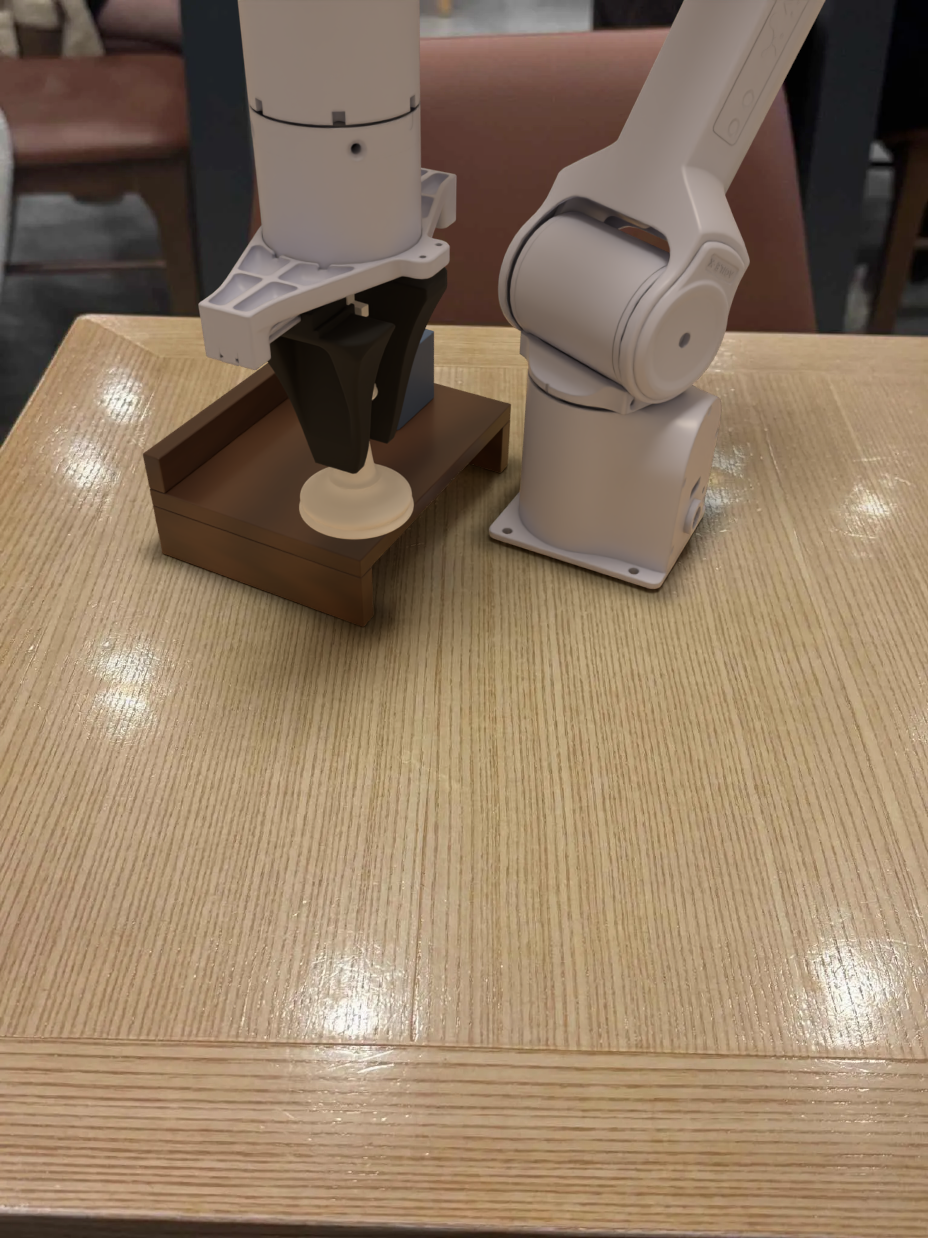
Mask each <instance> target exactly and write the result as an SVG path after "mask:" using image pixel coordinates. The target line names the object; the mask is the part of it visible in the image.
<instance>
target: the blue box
mask: <svg viewBox="0 0 928 1238" xmlns="http://www.w3.org/2000/svg"><path fill="white" fill-rule="evenodd" d="M434 383H435V331H434V330H432V329H428V328H425V331H424V333H423V336H422V338H421V341H420V343H419V346H418V349H417V352H416V355H415V359H414V362H413V365H412V369H411V373H410V377H409V381H408V385H407V389H406V394H405V398H404V403H403V407H402V411H401V416H400V420H399V423H398V427H397V430H399V429H401V428H402V427H403V426H404V425H405V424H406V423H407V422H408V421H409V420H410V419H411V418H412V417H413V416H415V415H416V414H417V413H418V412H419V411H420V410H421V409H422V408H423V407H424V406H425V405H426V404H427V403H429V402H430V401H431V400H432V399H433V398H434Z"/></svg>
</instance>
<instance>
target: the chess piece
mask: <svg viewBox="0 0 928 1238" xmlns="http://www.w3.org/2000/svg"><path fill="white" fill-rule="evenodd" d="M346 303H347V305H349V304H350V303H353V304H354V305H355V314H357V315H361V316H365V317H367V316H368V315H369V314H368V304H365V303H361V302H358V301H355V299H354V294H353V295H350V296H347V297H346ZM377 393H378V390H377V387H376V384H375V385H374V390H373V396H372V400H373V399H374V398H375V397H376V396H377ZM413 507H414V502H413V498H412V491H411V487H410V485H409V483H408V482H407V480H406V479H405V478H404V477H403V476H402V475H401V474H399V473H398V472H396V471H394V470H392V469H390V468H388V467H385V466H382V465H378V464H375V463H374V461H373V457H372V452H371V446H370V441H369V449H368V454H367V458H366V461H365V465H364V467H363V468H362V469H361V470H360V471H359V472H358V473H356V474H351V473H348V472H345V471H341V470H338V469H335V468H331V467H328V468H325V469H323V470H321V471H319V472H317V473H315V474H314V475H313V476H311V477H310V478H309V479H308V480H307V481H306V482H305V484H304V485H303V487H302V489H301V493H300V504H299V511H300V514H301V517H302V518H303V520H304V521H305V522H306V523H307V524H308V525H309V526H310V527H311V528H313V529H314V530H316V531H318V532H320V533H322V534H325V535H328V536H331V537H336V538H342V539H367V538H373V537H377V536H381V535H384V534H387V533H389V532H392V531H394V530H395V529H397V528H399V527H400V526H402V525H403V524H404V523H405V522H406V521H407V520H408V519H409V517H410V516H411V514H412V512H413Z"/></svg>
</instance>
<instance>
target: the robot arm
mask: <svg viewBox="0 0 928 1238" xmlns="http://www.w3.org/2000/svg"><path fill="white" fill-rule="evenodd" d="M420 1H421V0H237V7H238V16H239V17H238V18H239V26H240V35H241V45H242V54H243V63H244V75H245V83H246V84H245V85H246V92H247V101H248V111H249V120H250V122H249V123H250V130H251V131H250V132H251V138H252V147H253V156H254V166H255V174H256V185H257V194H258V203H259V204H258V205H259V212H260V213H259V214H260V222H261V223H260V224H261V225H260V226H259V228H258V229H257V230H256V232H255V234H254V235H253V237H252V238H251V239H250V241H249V243H248V245H247V246H246V247H245V249H244V250H243V252H242V253H241V255H240V256H239V258H238V260H237V261H236V263H235V264H234V266H233V267H232V268H231V270H230V272H229V274H228V275H227V277H226V278H225V279H224V280H223V282H222V284H221V285H219V287H218V288H217V289H216V290H215V291H214V292H212V293H211V294H209V295H208V296H207V297H206V298H204V299H203V300H201V301H200V302H199V303H197V304H198V312H199V318H200V323H201V324H200V325H201V330H202V337H203V344H204V352H205V356H206V358H209V359H212V360H216V361H219V362H222V363H224V364H228V365H232V366H237V367H241V368H243V369H248V370H252V371H257V370H259V369H260V368H262V367H263V366H264V365H266V364H267V363H269V365H270V366H271V368H272V369H273V371H274V372H275V374H276V376H277V377H278V379H279V380H280V382H281V384H282V386H283V387H284V389H285V391H286V393H287V395H288V397H289V399H290V401H291V404H292V406H293V408H294V410H295V412H296V415H297V417H298V420H299V422H300V425H301V427H302V430H303V432H304V435H305V438H306V440H307V443H308V445H309V448H310V451H311V453H312V456H313V458H314V461H315V463H318V464H322V465H325V466H328V467H331V468H335V469H338V470H341V471H345V472H348V473H351V474H356V473H358V472H359V471H360V470H361V469H362V468H363V467H364V465H365V461H366V458H367V454H368V449H369V440H370V439H372V440H376V441H379V442H382V443H386V444H388V443H389V442H390V441H391V440H392V439H393V438H394V436H395V433H396V430H397V427H398V423H399V420H400V416H401V411H402V407H403V403H404V398H405V394H406V389H407V385H408V381H409V377H410V373H411V369H412V365H413V362H414V359H415V355H416V352H417V349H418V346H419V343H420V341H421V338H422V336H423V333H424V331H425V329H427V326H428V324H429V322H430V320H431V318H432V315H433V314H434V312H435V309H436V308H437V306H438V304H439V302H440V301H441V300H442V298H443V295H444V294H445V292H446V291H447V289H448V269H447V268H446V266H448V265H449V263H450V260H451V259H450V258H451V257H450V255H451V254H450V249H451V245H449V243H448V242H447V241H445V240H442V239H437V238H433V236H434V233H435V230H436V229H442V230H443V229H447V228H449V226H451V225H452V224H454V223H455V222H456V221H457V179H458V177H457V175H456V173H450V172H444V171H442V170H441V171H440V170H435V169H430V168H425V167H422V134H421V133H422V132H421V131H422V129H421V128H422V123H421V121H422V120H421V119H422V118H421V112H422V111H421V19H420V17H421V15H420V14H421V11H420V9H421V8H420V7H421V6H420V3H421V2H420ZM825 3H826V0H683V1H682V4H681V5H680V8H679V10H678V12H677V14H676V16H675V18H674V20H673V22H672V23H671V27H670V28H669V31H668V33H667V35H666V37H665V39H664V41H663V43H662V46H661V47H660V50H659V51H658V54H657V56H656V58H655V60H654V62H653V65H652V66H651V69H650V71H649V73H648V75H647V77H646V79H645V81H644V83H643V86H642V88H641V89H640V92H639V94H638V96H637V98H636V101H635V102H634V105H633V106H632V108H631V111H630V113H629V115H628V117H627V119H626V121H625V123H624V126H623V127H622V130H621V132H620V134H619V136H618V138H617V139H616V140H615V141H613V143H611V144H610V145H608V146H606V147H604V148H602V149H600V150H598V151H596V152H593V153H592V154H589V155H587V156H585V157H583V158H580V159H578V160H576V161H575V162H572V163H571V164H568V165H567V166H565V167H563V168H562V169H561V170H560V171H559V172H558V173H557V175H556V177H555V180H554V181H553V184H552V186H551V189H550V190H549V192H548V194H547V197H546V198H545V200H543V202H542V204H541V206H540V207H539V208H538V209H537V210H536V211H535V213H534V214H533V215H531V217H530V218H529V219H528V220H527V221H525V223H524V224H523V225H521V227H520V229H519V230H518V231H517V232H516V233H515V235H514V237H513V238H512V240H511V242H510V243H509V245H508V247H507V249H506V252H505V254H504V257H503V260H502V262H501V265H500V269H499V275H498V283H497V295H498V303H499V307H500V311H501V312H502V315H503V316H504V318H505V319H506V321H507V322H508V324H510V325H511V326H512V327H513V328H514V329H515V330H517V331H519V332H520V339H519V355H520V356H521V357H523V358H524V359H525V360H526V363H527V374H526V390H525V391H526V392H525V404H524V420H523V421H524V422H523V439H522V450H521V451H522V452H521V453H522V454H521V465H520V466H521V467H520V482H519V483H520V485H519V491H518V492H517V493H516V495H515V496H513V499H511V500H510V502H508V504H507V505H506V506H505V507H504V509H503V510H502V511H501V513H499V515H498V516H497V517H496V518H495V520H494V521H493V522H492V523H491V524H490V526H489V527H488V536H489V537H490V538H492V539H494V540H497V541H499V542H503V543H506V544H510V545H511V546H512V545H513V546H516V547H518V548H522V549H525V550H528V551H531V552H534V553H537V554H540V555H544V556H546V557H550V558H553V559H555V560H559V561H561V562H565V563H568V564H571V565H575V566H578V567H580V568H584V569H587V570H590V571H594V572H596V573H599V574H601V575H605V576H608V577H612V578H615V579H619V580H621V581H624V582H628V583H631V584H633V585H637V586H640V587H643V588H646V589H650V590H657V589H659V588H661V586H662V585H663V584H664V582H665V581H666V579H667V577H668V576H669V573H670V572H671V570H672V568H673V567H674V565H675V564H676V562H677V561H678V558H679V557H680V555H681V553H682V552H683V551H684V549H685V547H686V545H687V543H688V542H689V540H690V539H691V537H692V535H693V533H694V532H695V531H696V528H697V527H698V525H699V524H700V522H701V520H702V518H703V517H704V515H705V513H706V508H707V507H706V504H705V502H706V498H707V497H706V496H707V492H708V491H707V490H708V486H709V481H710V477H711V471H712V465H713V461H714V456H715V450H716V446H717V440H718V435H719V431H720V427H721V426H720V425H721V419H722V409H723V408H722V407H723V405H722V398H720V397H719V396H718V395H715V394H713V393H710V392H708V391H706V390H704V389H702V388H700V387H699V386H698V387H697V386H696V385H695V383H696V382H697V381H699V380H700V379H701V377H703V375H704V374H705V373H706V371H707V370H708V368H709V367H710V366H711V364H712V363H713V362H714V359H715V358H716V356H717V354H718V353H719V351H720V348H721V345H722V343H723V341H724V338H725V334H726V330H727V326H728V320H729V319H728V318H729V314H730V311H731V307H732V303H733V301H734V297H735V296H736V292H737V290H738V286H739V285H740V283H741V280H742V279H743V277H744V275H745V273H746V271H747V270H748V267H749V266H750V263H751V262H750V256H749V253H748V250H747V247H746V243H745V241H744V239H743V237H742V234H741V231H740V229H739V227H738V223H737V222H736V220H735V218H734V214H733V213H732V209H731V207H730V203H729V202H728V199H727V197H726V194H727V192H728V190H729V188H730V187H731V184H732V182H733V180H734V178H735V177H736V174H737V173H738V171H739V169H740V167H741V166H742V163H743V161H744V160H745V157H746V155H747V154H748V152H749V149H750V147H751V146H752V143H753V141H754V139H755V138H756V136H757V134H758V132H759V130H760V129H761V126H762V124H763V123H764V121H765V118H766V117H767V114H768V112H769V111H770V109H771V107H772V105H773V103H774V101H775V99H776V97H777V95H778V93H779V91H780V89H781V88H782V86H783V83H784V81H785V79H786V78H787V75H788V74H789V72H790V70H791V68H792V66H793V64H794V63H795V60H796V59H797V56H798V54H799V53H800V50H801V49H802V47H803V45H804V44H805V41H806V39H807V37H808V35H809V33H810V31H811V30H812V27H813V25H814V24H815V22H816V19H817V18H818V15H819V14H820V12H821V10H822V8H823V6H824V4H825ZM624 228H632V229H639V230H640V231H643V232H646V233H648V234H650V235H653V236H654V237H657V238H659V239H661V240H663V241H665V242H667V245H668V248H669V251H666V250H665V249H662V248H661V247H658V246H656V245H654V244H652V243H649V242H647V241H645V240H643V239H640V238H639V237H636V236H634V235H631V234H629V233H627V232H625V231H623V230H622V229H624ZM353 294H354V299H355V301H358V302H361V303H365V304H368V314H369V315H368V316H367V317H365V316H361V315H357V314H355V305H354V304H353V303H350V304H349V305H347V303H346V297H347V296H350V295H353ZM375 384H376V387H377V390H378V393H377V396H376V397H375V398H374V399H373V400H372V396H373V390H374V385H375Z"/></svg>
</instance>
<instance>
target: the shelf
mask: <svg viewBox="0 0 928 1238" xmlns="http://www.w3.org/2000/svg"><path fill="white" fill-rule="evenodd" d="M511 411H512V404H511V403H509V402H505V401H502V400H499V399H495V398H491V397H487V396H483V395H480V394H476V393H472V392H469V391H465V390H462V389H458V388H455V387H451V386H447V385H442V384H439V383H435V382H434V398H433V399H432V400H431V401H430V402H429V403H427V404H426V405H425V406H424V407H423V408H422V409H421V410H420V411H419V412H418V413H417V414H416V415H415V416H413V417H412V418H411V419H410V420H409V421H408V422H407V423H406V424H405V425H404V426H403V427H402V428H401V429H399V430H396V433H395V436H394V438H393V439H392V440H391V441H390V442H389V443H388V444H386V443H382V442H379V441H376V440H372V439H370V440H369V441H370V446H371V452H372V457H373V461H374V463H375V464H378V465H382V466H385V467H388V468H390V469H392V470H394V471H396V472H398V473H399V474H401V475H402V476H403V477H404V478H405V479H406V480H407V482H408V483H409V485H410V487H411V491H412V498H413V502H414V507H413V512H412V514H411V516H410V517H409V519H408V520H407V521H406V522H405V523H404V524H403V525H402V526H400V527H399V528H397V529H395V530H394V531H392V532H389V533H387V534H384V535H381V536H377V537H373V538H367V539H342V538H336V537H331V536H328V535H325V534H322V533H320V532H318V531H316V530H314V529H313V528H311V527H310V526H309V525H308V524H307V523H306V522H305V521H304V520H303V518H302V517H301V514H300V511H299V504H300V493H301V489H302V487H303V485H304V484H305V482H306V481H307V480H308V479H309V478H310V477H311V476H313V475H314V474H315V473H317V472H319V471H321V470H323V469H325V468H328V466H325V465H322V464H318V463H315V461H314V458H313V456H312V453H311V451H310V448H309V445H308V443H307V440H306V438H305V435H304V432H303V430H302V427H301V425H300V422H299V420H298V417H297V415H296V412H295V410H294V408H293V406H292V404H291V401H290V399H289V397H288V395H287V393H286V391H285V389H284V387H283V386H282V384H281V382H280V380H279V379H278V377H277V376H276V374H275V372H274V371H273V369H272V368H271V366H270V365H269V363H268V362H266V363H265V364H263V365H262V366H261V367H259V368H258V369H257V370H255V371H254V372H253V373H252V374H250V375H249V376H248V377H246V378H245V379H243V380H242V381H241V382H239V383H238V384H237V385H235V386H234V387H232V388H231V389H229V390H228V391H227V392H226V393H224V394H223V395H222V396H220V397H219V398H217V399H216V400H215V401H213V402H212V403H210V404H209V405H208V406H206V407H205V408H204V409H202V410H201V411H199V412H198V413H197V414H195V415H194V416H192V417H191V418H190V419H188V420H187V421H185V422H184V423H183V424H182V425H180V426H179V427H177V428H176V429H175V430H173V431H172V432H170V433H169V434H168V435H166V436H165V437H163V438H162V439H161V440H160V441H158V442H157V443H155V444H154V445H153V446H151V447H150V448H149V449H147V450H145V451H144V452H143V453H142V459H143V463H144V468H145V473H146V478H147V483H148V488H149V493H150V498H151V503H152V509H153V514H154V518H155V523H156V529H157V533H158V538H159V542H160V548H161V552H162V554H164V555H166V556H169V557H172V558H174V559H178V560H179V561H183V562H185V563H187V564H191V565H193V566H196V567H199V568H201V569H204V570H206V571H210V572H212V573H216V574H218V575H221V576H224V577H226V578H229V579H231V580H234V581H237V582H240V583H243V584H245V585H248V586H250V587H253V588H255V589H259V590H261V591H263V592H267V593H268V594H269V593H270V594H273V595H275V596H278V597H280V598H283V599H286V600H288V601H290V602H291V601H292V602H294V603H297V604H299V605H303V606H304V607H308V608H310V609H314V610H316V611H319V612H321V613H324V614H327V615H329V616H333V617H334V618H338V619H340V620H343V621H346V622H348V623H351V624H354V625H357V626H360V627H362V628H364V627H365V626H366V625H367V624H368V623H369V621H371V619H372V618H373V617H374V615H375V612H374V611H375V609H374V588H373V569H372V567H373V566H374V565H375V564H376V562H377V561H379V559H380V558H381V557H382V556H383V555H384V554H385V553H386V552H387V551H388V550H389V548H391V546H392V545H393V544H394V543H395V542H396V541H397V540H398V539H399V538H400V537H401V536H402V535H403V534H404V533H405V532H406V531H407V529H408V528H409V527H410V526H411V525H412V524H414V522H415V521H417V519H418V518H419V517H420V516H421V514H423V512H424V511H425V510H426V509H427V508H428V507H430V505H431V504H432V503H433V502H434V501H435V500H436V498H438V496H440V495H441V493H442V492H444V490H445V489H447V487H448V486H449V485H450V484H451V483H452V482H453V481H454V479H456V477H458V476H459V474H460V473H461V472H462V471H463V470H464V469H465V468H466V467H467V466H468V465H471V466H475V467H479V468H481V469H485V470H489V471H492V472H496V473H499V474H502V472H503V471H504V470H505V469H506V468H507V467H508V465H509V452H510V436H511V435H510V433H511V431H510V430H511V414H512V413H511Z"/></svg>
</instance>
